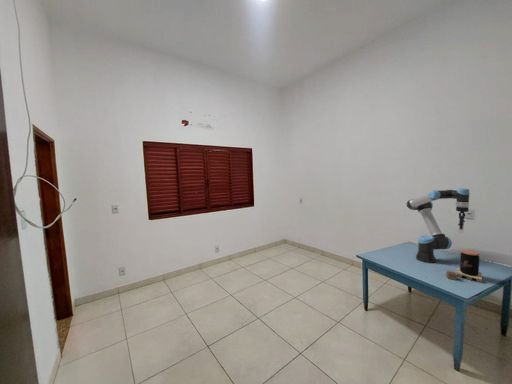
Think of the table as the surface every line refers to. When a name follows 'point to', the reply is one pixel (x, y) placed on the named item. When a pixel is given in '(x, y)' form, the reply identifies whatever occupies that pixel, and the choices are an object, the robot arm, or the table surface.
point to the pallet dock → (469, 276)
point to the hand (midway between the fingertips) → (461, 230)
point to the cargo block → (451, 275)
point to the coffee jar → (469, 262)
